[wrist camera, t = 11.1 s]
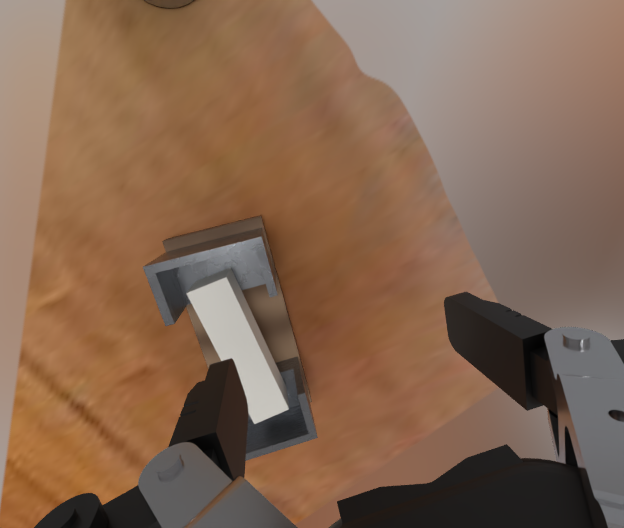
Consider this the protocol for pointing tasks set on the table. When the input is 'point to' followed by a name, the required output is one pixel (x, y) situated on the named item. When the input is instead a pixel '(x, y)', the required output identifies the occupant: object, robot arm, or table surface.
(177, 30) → the table surface
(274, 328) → the plank
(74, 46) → the table surface
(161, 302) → the grey boxes
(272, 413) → the block
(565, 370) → the robot arm
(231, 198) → the table surface
